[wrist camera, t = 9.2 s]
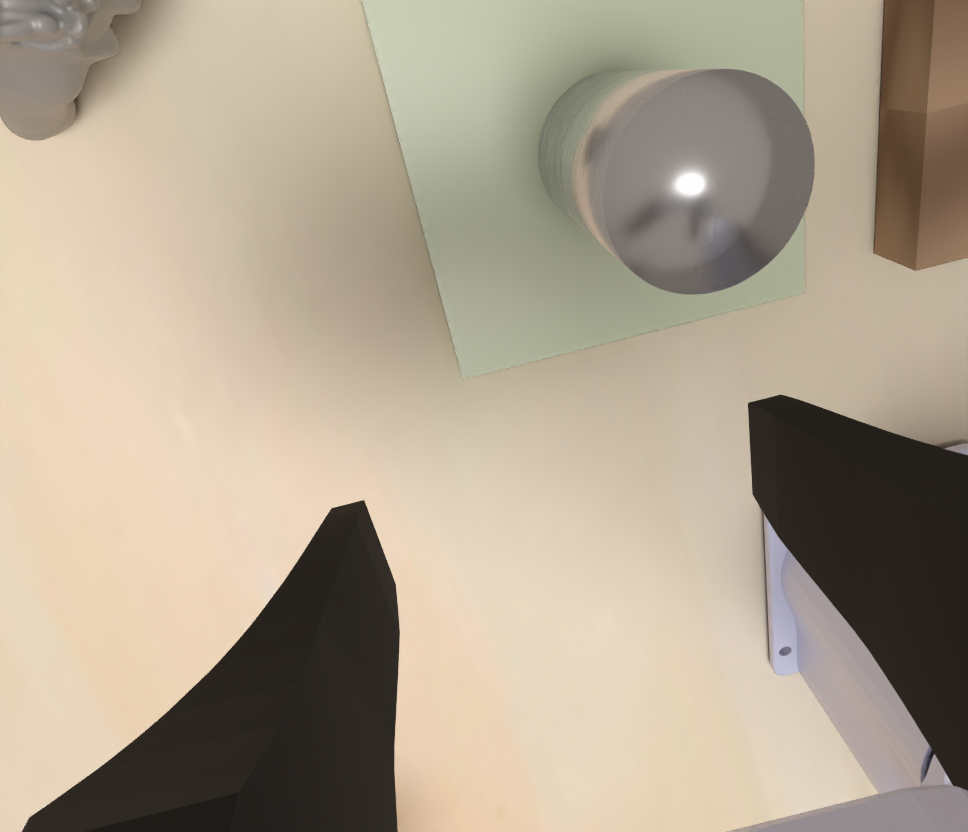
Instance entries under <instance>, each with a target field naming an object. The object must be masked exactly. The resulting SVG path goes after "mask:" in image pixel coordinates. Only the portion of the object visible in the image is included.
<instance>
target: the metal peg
mask: <svg viewBox="0 0 968 832" xmlns="http://www.w3.org/2000/svg"><path fill="white" fill-rule="evenodd" d="M538 163H539V171H540V175H541V178H542V181H543V184H544V186H545V189H546V191H547V192H548V194H549V196H550V197H551V199H552V200H553V201H554V203H555V204H556V205H557V206H558V207H559V208H560V209H561V210H562V211H563V212H564V213H565V214H567V215H568V216H569V217H570V218H571V219H572V220H574V221H575V222H576V223H577V224H578V225H579V226H580V227H582V228H583V229H584V230H585V231H586V232H587V233H588V234H590V235H591V236H592V237H593V238H594V239H595V240H596V241H598V242H599V243H600V244H601V245H602V246H603V247H604V248H606V249H607V250H608V251H609V252H610V253H611V254H613V255H614V256H615V257H616V258H617V259H618V260H619V261H621V262H622V263H623V264H624V265H625V266H626V267H627V268H629V269H630V270H631V271H632V272H633V273H634V274H635V275H637V276H638V277H640V278H641V279H642V280H644V281H645V282H647V283H649V284H651V285H653V286H654V287H656V288H659V289H662V290H665V291H668V292H673V293H678V294H689V295H696V294H707V293H712V292H717V291H721V290H724V289H727V288H730V287H732V286H734V285H737V284H739V283H741V282H743V281H745V280H746V279H748V278H750V277H751V276H753V275H755V274H756V273H757V272H759V271H760V270H761V269H763V268H764V267H765V266H766V265H768V264H769V263H770V262H771V261H772V260H773V259H774V258H775V257H776V256H777V255H778V254H779V253H780V251H781V250H782V249H783V248H784V247H785V245H786V244H787V243H788V241H789V240H790V238H791V237H792V235H793V234H794V232H795V231H796V229H797V227H798V225H799V223H800V221H801V220H802V218H803V215H804V212H805V210H806V207H807V205H808V202H809V198H810V194H811V191H812V185H813V178H814V150H813V143H812V139H811V134H810V131H809V128H808V126H807V123H806V120H805V118H804V116H803V115H802V113H801V111H800V109H799V108H798V106H797V105H796V104H795V102H794V101H793V100H792V98H791V97H790V96H789V95H788V94H787V93H786V92H785V91H784V90H782V89H781V88H780V87H779V86H777V85H776V84H774V83H773V82H771V81H770V80H768V79H766V78H764V77H762V76H759V75H757V74H755V73H751V72H747V71H743V70H735V69H671V70H611V71H604V72H599V73H596V74H593V75H590V76H587V77H586V78H584V79H582V80H580V81H578V82H577V83H575V84H574V85H572V86H571V87H570V88H569V89H568V90H566V91H565V92H564V93H563V94H562V95H561V97H560V98H559V99H558V100H557V101H556V102H555V104H554V105H553V107H552V108H551V110H550V112H549V114H548V116H547V118H546V120H545V122H544V125H543V128H542V131H541V135H540V139H539V147H538Z"/></svg>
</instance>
